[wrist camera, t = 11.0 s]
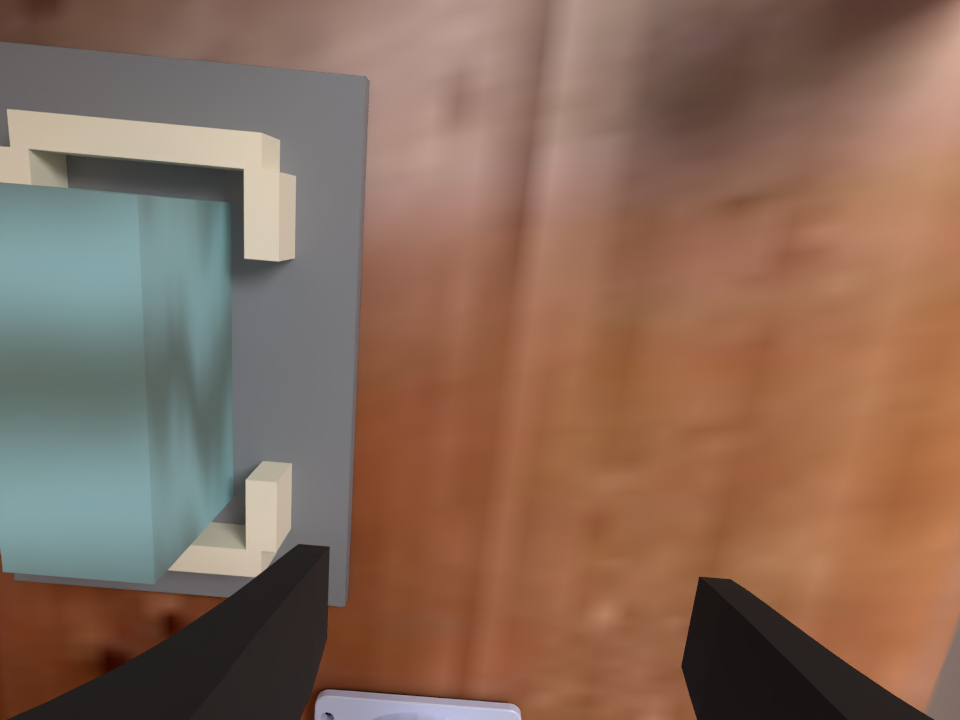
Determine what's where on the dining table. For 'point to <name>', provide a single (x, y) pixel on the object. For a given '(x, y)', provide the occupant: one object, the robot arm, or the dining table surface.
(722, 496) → the dining table surface
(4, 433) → the teal block
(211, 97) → the jig
